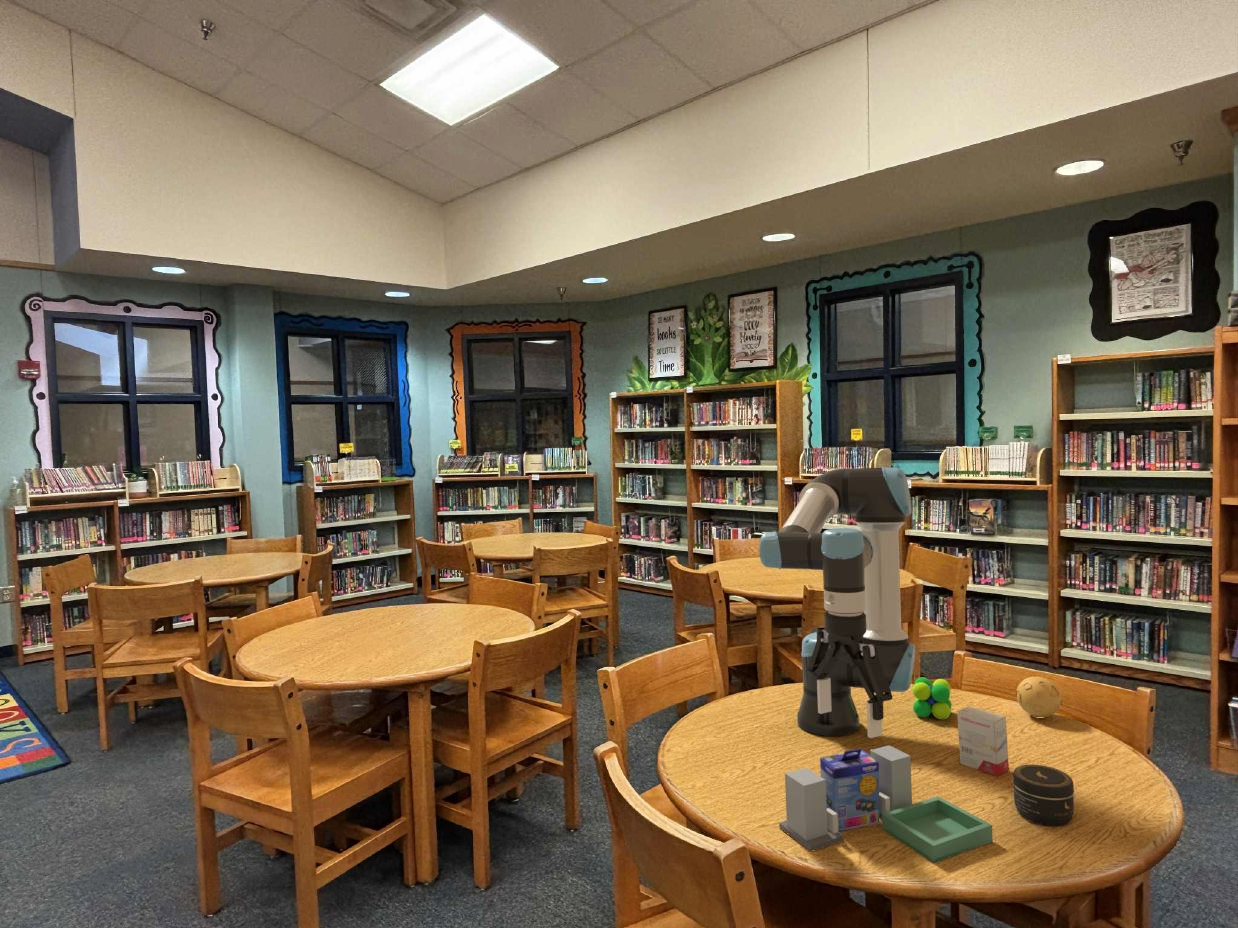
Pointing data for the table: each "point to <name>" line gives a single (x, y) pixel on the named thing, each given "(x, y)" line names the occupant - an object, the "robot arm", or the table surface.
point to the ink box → (983, 740)
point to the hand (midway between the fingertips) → (848, 723)
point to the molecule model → (932, 698)
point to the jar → (1043, 795)
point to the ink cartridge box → (852, 788)
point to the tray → (937, 828)
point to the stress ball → (1038, 696)
